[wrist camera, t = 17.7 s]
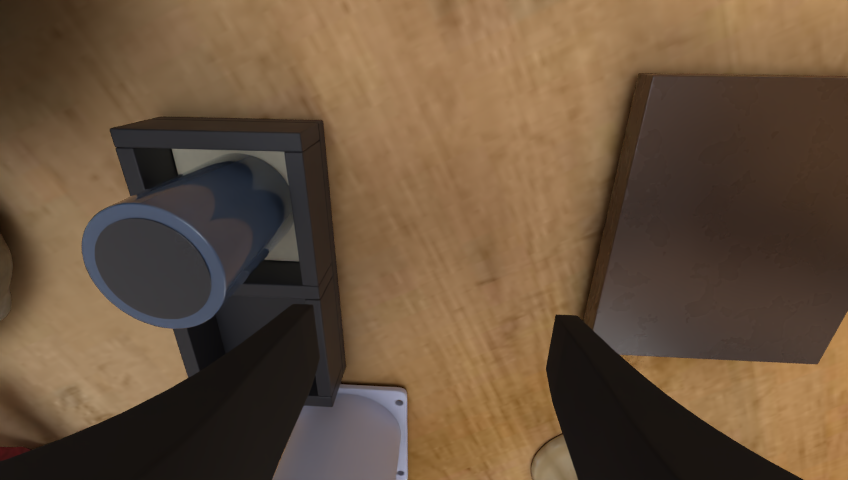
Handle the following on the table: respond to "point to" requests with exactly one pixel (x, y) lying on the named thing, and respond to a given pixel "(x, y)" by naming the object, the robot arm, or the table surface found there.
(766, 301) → the shelf
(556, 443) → the hand bell
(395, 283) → the table surface
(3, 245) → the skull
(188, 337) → the rack
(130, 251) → the tumbler
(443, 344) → the table surface
